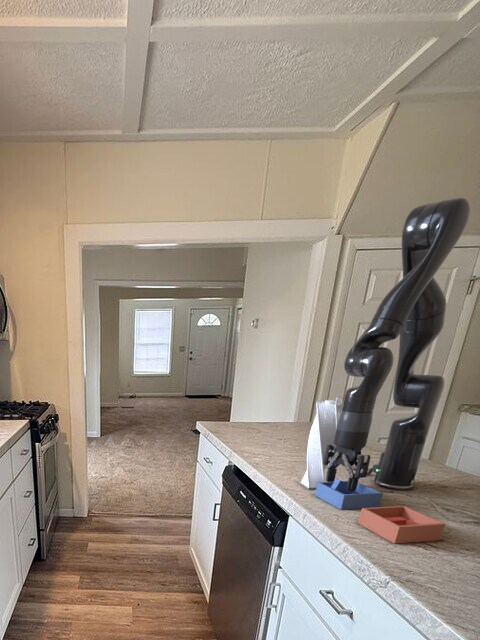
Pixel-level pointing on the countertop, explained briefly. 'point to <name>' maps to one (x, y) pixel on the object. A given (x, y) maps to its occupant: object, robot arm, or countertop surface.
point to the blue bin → (349, 496)
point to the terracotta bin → (406, 533)
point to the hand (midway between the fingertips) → (339, 485)
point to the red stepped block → (401, 521)
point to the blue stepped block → (342, 487)
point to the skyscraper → (320, 441)
